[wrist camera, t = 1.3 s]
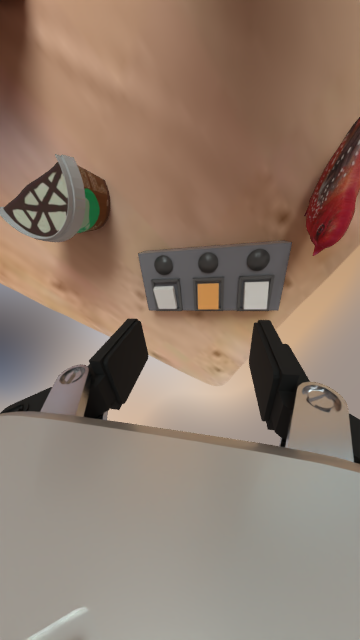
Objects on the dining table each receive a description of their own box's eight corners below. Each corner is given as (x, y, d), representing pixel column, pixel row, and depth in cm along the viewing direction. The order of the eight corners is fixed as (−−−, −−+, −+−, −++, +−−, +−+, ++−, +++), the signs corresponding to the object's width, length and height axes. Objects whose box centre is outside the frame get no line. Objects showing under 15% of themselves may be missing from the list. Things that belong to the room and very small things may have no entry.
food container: (78, 248, 32) (27, 258, 23) (56, 212, 30) (-10, 208, 21) (132, 219, 28) (94, 218, 19) (112, 174, 25) (58, 150, 17)
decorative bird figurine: (278, 245, 26) (308, 256, 17) (366, 51, 17) (523, -129, 8) (298, 249, 26) (338, 263, 17) (397, 56, 16) (592, -124, 8)
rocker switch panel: (144, 251, 30) (136, 254, 27) (284, 240, 25) (293, 242, 22) (154, 303, 35) (147, 311, 32) (273, 302, 30) (279, 311, 27)
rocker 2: (244, 282, 26) (245, 282, 25) (267, 281, 25) (268, 281, 25) (243, 308, 27) (243, 309, 26) (265, 308, 26) (266, 309, 26)
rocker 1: (154, 286, 28) (153, 289, 27) (173, 286, 27) (172, 289, 27) (160, 305, 31) (158, 308, 30) (177, 305, 30) (176, 308, 29)
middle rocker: (198, 283, 28) (197, 284, 27) (218, 283, 27) (218, 283, 26) (198, 308, 28) (198, 309, 28) (218, 308, 28) (218, 309, 27)
